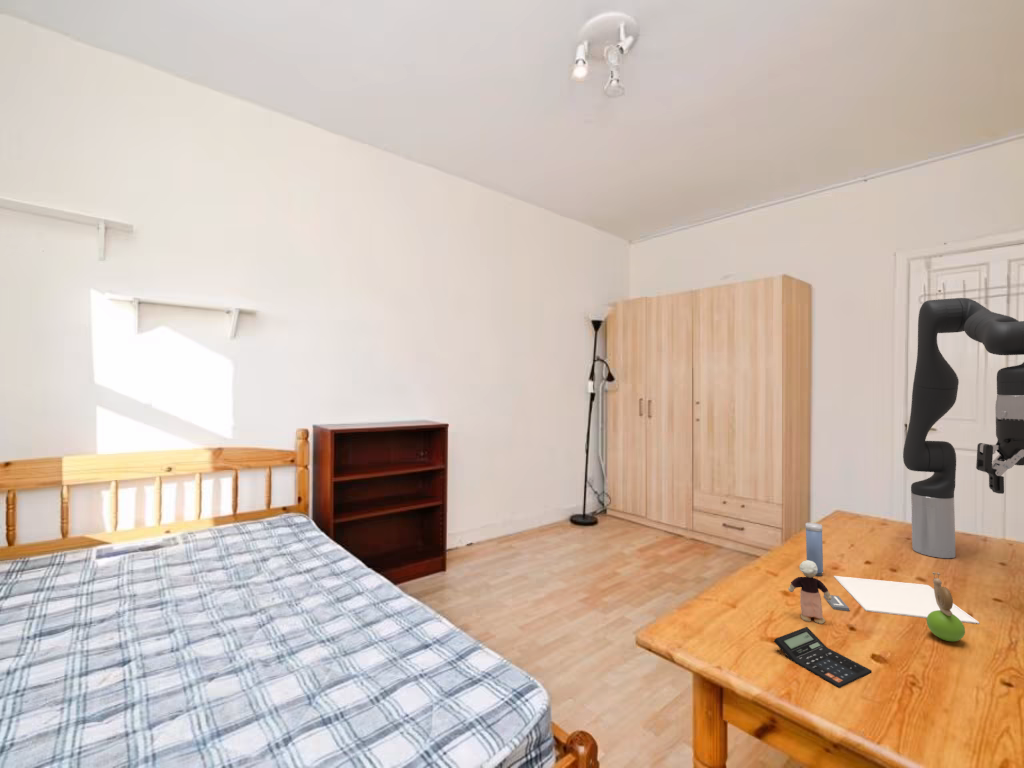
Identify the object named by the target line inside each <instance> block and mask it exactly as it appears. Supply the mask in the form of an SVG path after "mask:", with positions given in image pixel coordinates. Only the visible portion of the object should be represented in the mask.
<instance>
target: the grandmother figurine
mask: <svg viewBox="0 0 1024 768" xmlns="http://www.w3.org/2000/svg"><path fill="white" fill-rule="evenodd" d="M799 571H801V573H802V574H803V576H798V577H796V578H794V579H793V580H792V581H791V582H790V585H789V587H788V591H789V592H790V593H793V592H794V591H795V589H797V588H800V594H799V595H800V596H799V599H800V611H801V614H800V618H801V619H802V620H803V621H804V622H812V618H813V621H814V623H817V624H824V623H825V622H826V619H825V618H824V616H823V605H822V598H821V593H820V591H821V592H822V594H823V596H824V595H825V596H826V599H827V600H831V599H832V597H831V596H830V595H831V594H830V592H829V589H828V588H827V586H826V585H825V584H824V582H822V581H821V580H819V579H818V578H816V577H817V576H816V574H817V571H818V569H817V566H816V564H815V563H814V562H813V561H809V560H807V559H806V560H803V561H802V562H801V563H800V564H799ZM819 590H820V591H819ZM826 599H825V600H826ZM827 600H826V601H827Z"/></svg>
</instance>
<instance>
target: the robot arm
mask: <svg viewBox="0 0 1024 768" xmlns="http://www.w3.org/2000/svg"><path fill="white" fill-rule="evenodd" d="M917 320H918V322H917V352H916V364H915V371H914V375H913V376H914V377H913V378H914V379H913V383H912V391H911V393H912V394H911V406H910V407H911V408H910V416H909V422H908V427H907V432H906V434H905V435H906V437H905V441H904V445H903V451H902V454H903V455H902V460H903V463H904V466H905V467H906V469H908V470H909V471H913V472H922V473H926V472H927V473H933V474H932V475H931V476H930V477H927V478H926V479H923V480H919V481H915V482H913V483H912V484H911V485H910V492H911V493H910V495H911V496H910V497H911V500H910V501H911V543H912V545H911V546H912V550H913V551H914V552H916V553H918V554H921V555H924V556H929V557H933V558H941V559H954V558H955V557H956V518H955V517H956V516H955V515H956V514H955V489H956V472H957V454H956V450H955V448H954V446H953V445H952V443H950V442H948V441H945V440H944V441H943V440H926V439H927V436H928V433H929V432H930V430H931V429H932V428H933V426H934V425H936V423H937V422H938V421H940V420H941V418H942V417H944V416H945V415H946V414H947V413H948V412H949V411H950V410H951V409H952V408H953V407H954V406H955V404H956V401H957V397H958V391H959V384H960V382H959V381H960V380H959V377H958V375H957V373H956V371H955V370H954V369H953V366H951V365H950V364H949V363H948V361H947V360H946V359H945V357H944V356H943V354H942V353H941V351H940V349H939V346H938V345H939V344H938V334H949V333H950V334H952V333H961V332H964V333H965V334H966V336H968V337H969V339H972V340H974V341H976V342H978V343H980V344H982V346H983V347H984V348H985V350H986V351H987V352H988V353H990V354H992V355H996V356H997V355H998V356H1023V355H1024V320H1023V321H1022V320H1021V321H1019V320H1018V319H1016V318H1014V317H1011V316H1010V315H1006V314H1002V313H997V312H993V311H991V310H990V309H988V308H987V307H985V306H984V305H982V304H981V303H979V302H978V301H976V300H974V299H971V298H969V297H968V298H967V297H956V298H939V299H930V300H925V301H924V302H923V303H922V304H921V306H920V307H919V312H918V319H917ZM994 410H995V437H996V439H997V441H996V443H995V444H991V443H989V444H988V443H983V442H980V443H977V447H976V449H977V450H976V463H975V464H976V466H975V468H976V470H978V471H980V472H983V473H987V475H988V487H989V489H990V490H991V491H992V492H993V493H995V494H1005V477H1004V476H1003V474H1005V472H1006V471H1007V470H1009V469H1012V468H1013V467H1014V466H1024V361H1023V362H1022V363H1020V364H1017V365H1012V366H1005V367H1003V368H1002V367H1001V368H1000V369H998V371H997V373H996V401H995V409H994ZM996 452H997V453H998V455H997V456H996V457H995V458H993V455H994V454H996ZM993 459H994V460H993Z"/></svg>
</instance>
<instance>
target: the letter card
mask: <svg viewBox="0 0 1024 768" xmlns="http://www.w3.org/2000/svg"><path fill="white" fill-rule="evenodd" d="M830 596H831V597H832V599H831V600H827V599H826V596H825V595H824V594H823V598H824V599H825V600H826V601H827V603H828V604H829V605H830V606H831V608H832V609H833V610H837V611H847V612H850V607H849V606H848V605H847V604H846V602H845V601H844V600H843V599H842V598H841V597H840V596H839V595H832V594H830Z"/></svg>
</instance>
